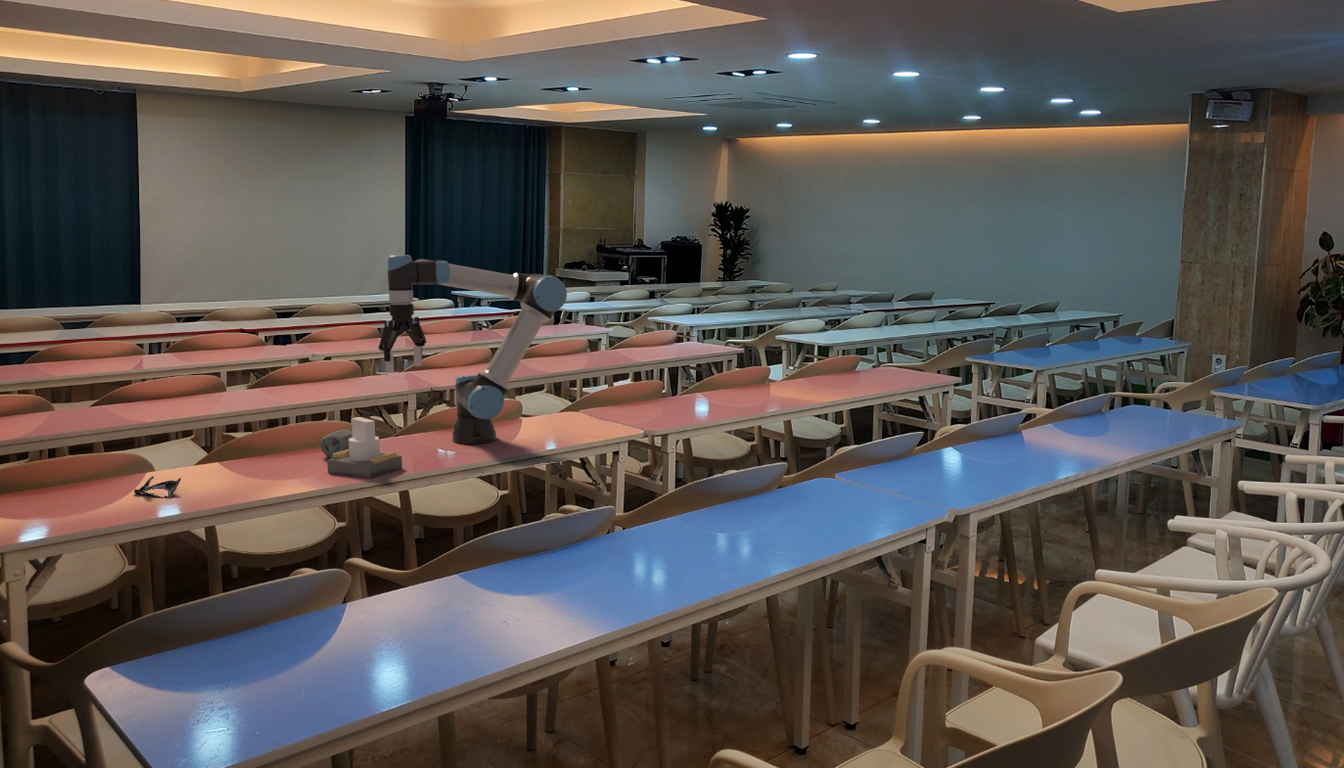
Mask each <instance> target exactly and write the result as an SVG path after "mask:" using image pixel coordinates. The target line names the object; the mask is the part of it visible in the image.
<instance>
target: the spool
mask: <svg viewBox="0 0 1344 768" xmlns="http://www.w3.org/2000/svg"><path fill="white" fill-rule="evenodd" d="M350 438H352V430H350V429H348V428H347V429H340V430H336V431H333V432H331V433H329V434H327V435H324V437H322V438H321V440H320V449H321V451H322V452H323V454H324V455H325V456H326V457H327V458H329V459H332V458H333V453H337V452H340V451H344V450H347V449H349V439H350Z"/></svg>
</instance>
